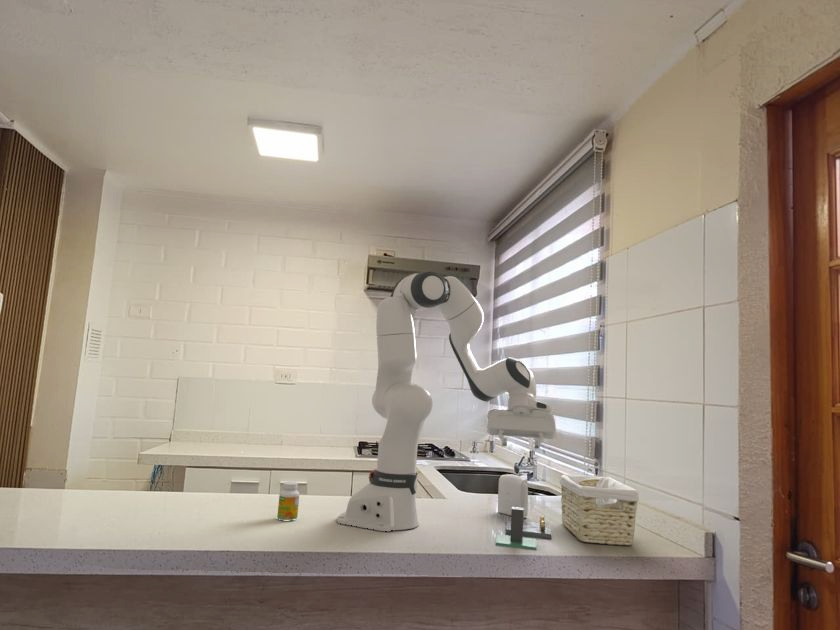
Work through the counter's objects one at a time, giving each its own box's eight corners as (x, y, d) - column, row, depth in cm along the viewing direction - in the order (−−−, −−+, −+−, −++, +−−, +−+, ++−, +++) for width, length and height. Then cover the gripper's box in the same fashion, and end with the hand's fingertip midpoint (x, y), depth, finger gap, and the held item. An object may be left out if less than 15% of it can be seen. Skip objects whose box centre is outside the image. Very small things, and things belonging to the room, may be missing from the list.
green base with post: (495, 545, 135) (497, 509, 136) (497, 537, 143) (499, 503, 144) (536, 550, 133) (537, 513, 134) (536, 542, 141) (537, 507, 142)
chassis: (505, 533, 146) (506, 520, 147) (507, 523, 158) (508, 510, 159) (551, 538, 144) (551, 524, 144) (549, 528, 156) (549, 515, 156)
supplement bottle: (273, 520, 146) (276, 483, 147) (282, 516, 151) (286, 480, 152) (291, 522, 144) (294, 485, 146) (300, 518, 150) (303, 482, 151)
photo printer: (495, 512, 172) (496, 472, 174) (504, 510, 175) (505, 471, 176) (520, 519, 164) (521, 477, 166) (529, 518, 167) (530, 477, 168)
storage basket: (557, 522, 164) (558, 472, 166) (611, 526, 163) (611, 476, 165) (577, 544, 140) (579, 486, 142) (640, 549, 140) (641, 490, 142)
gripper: (487, 401, 167) (484, 436, 156) (555, 405, 163) (556, 441, 152) (488, 415, 171) (485, 450, 160) (554, 419, 167) (555, 455, 156)
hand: (520, 446), depth 156 cm, fingers open, 8 cm apart
